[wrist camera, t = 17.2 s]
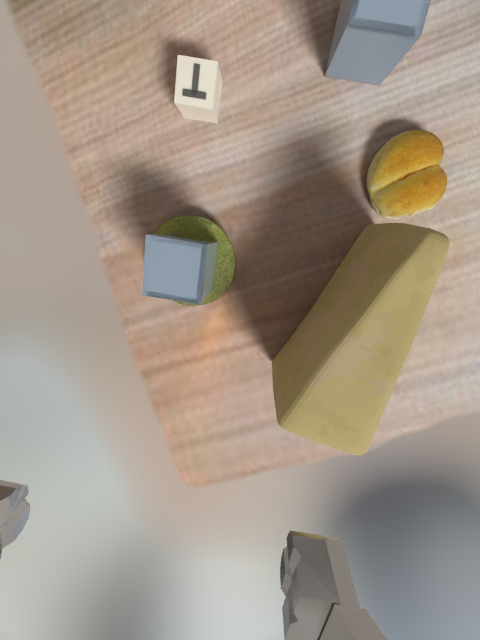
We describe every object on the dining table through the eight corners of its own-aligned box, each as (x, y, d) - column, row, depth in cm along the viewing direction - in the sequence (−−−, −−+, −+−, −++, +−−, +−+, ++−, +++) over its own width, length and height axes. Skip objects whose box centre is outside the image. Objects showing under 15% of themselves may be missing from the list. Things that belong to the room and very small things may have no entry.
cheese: (335, 211, 34) (392, 195, 20) (407, 240, 35) (512, 244, 21) (268, 362, 41) (274, 432, 27) (329, 385, 42) (367, 465, 27)
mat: (187, 195, 35) (183, 193, 33) (253, 257, 37) (253, 259, 35) (135, 264, 38) (129, 265, 36) (199, 318, 39) (197, 322, 38)
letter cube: (222, 81, 31) (218, 59, 27) (217, 123, 32) (212, 108, 28) (187, 75, 31) (177, 52, 27) (183, 118, 32) (173, 102, 28)
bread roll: (431, 124, 31) (456, 109, 28) (439, 206, 34) (463, 202, 30) (357, 149, 32) (370, 138, 29) (370, 227, 35) (384, 226, 31)
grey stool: (218, 241, 34) (207, 244, 27) (212, 289, 36) (200, 304, 28) (170, 233, 34) (145, 234, 27) (166, 281, 36) (142, 294, 29)
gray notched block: (397, 15, 29) (449, -65, 21) (379, 85, 30) (420, 35, 23) (339, 5, 29) (369, -78, 21) (324, 76, 30) (347, 23, 23)
